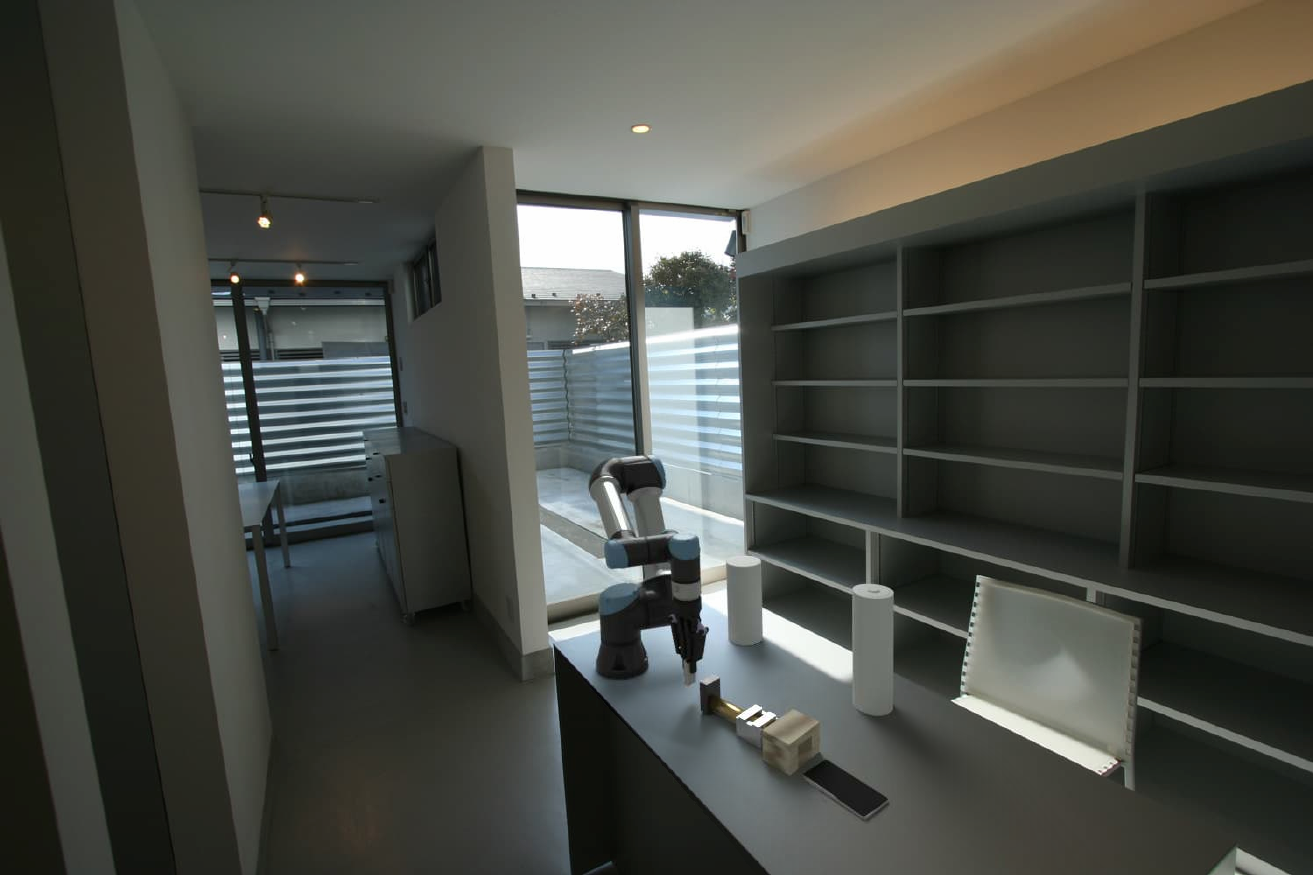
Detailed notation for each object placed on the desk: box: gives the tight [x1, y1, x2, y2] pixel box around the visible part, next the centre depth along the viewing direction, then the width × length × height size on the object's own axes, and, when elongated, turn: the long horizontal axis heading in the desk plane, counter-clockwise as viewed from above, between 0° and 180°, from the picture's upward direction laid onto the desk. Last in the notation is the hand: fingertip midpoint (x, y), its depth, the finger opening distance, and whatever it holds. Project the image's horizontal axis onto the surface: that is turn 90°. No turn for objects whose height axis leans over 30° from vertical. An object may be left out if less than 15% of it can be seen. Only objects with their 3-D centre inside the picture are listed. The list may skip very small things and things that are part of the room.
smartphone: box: [802, 759, 889, 821], centre depth 119 cm, size 8×1×15 cm
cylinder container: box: [851, 583, 895, 717], centre depth 146 cm, size 9×9×30 cm
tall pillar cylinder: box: [725, 554, 764, 647], centre depth 185 cm, size 11×11×25 cm
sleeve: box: [735, 704, 779, 751], centre depth 137 cm, size 7×6×5 cm
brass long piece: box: [699, 673, 769, 729], centre depth 142 cm, size 18×5×8 cm, turn 41°
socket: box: [762, 708, 821, 777], centre depth 130 cm, size 7×11×7 cm, turn 131°
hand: (690, 682), depth 153 cm, fingers closed
